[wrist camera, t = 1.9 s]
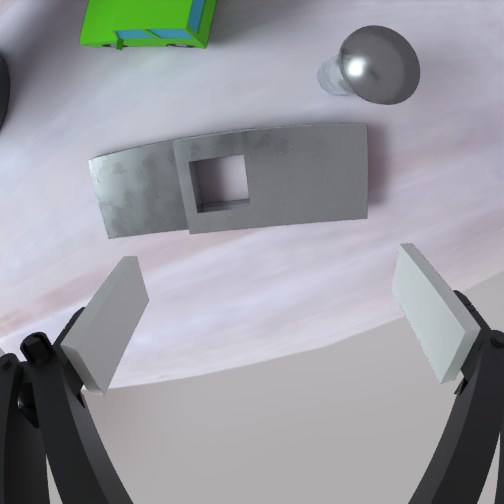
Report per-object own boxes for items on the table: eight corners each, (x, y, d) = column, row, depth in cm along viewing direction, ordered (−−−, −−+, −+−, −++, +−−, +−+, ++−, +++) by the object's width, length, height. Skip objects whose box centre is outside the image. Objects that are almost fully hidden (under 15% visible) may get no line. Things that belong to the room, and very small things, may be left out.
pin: (306, 53, 25) (337, 22, 14) (358, 53, 25) (415, 31, 14) (312, 103, 28) (346, 103, 17) (363, 102, 28) (422, 107, 16)
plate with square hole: (94, 157, 31) (81, 163, 28) (357, 122, 29) (366, 124, 26) (113, 233, 36) (103, 244, 33) (359, 209, 33) (367, 218, 31)
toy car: (113, -17, 21) (69, -43, 12) (224, -21, 21) (210, -63, 13) (95, 58, 25) (43, 51, 17) (206, 59, 26) (183, 41, 17)
